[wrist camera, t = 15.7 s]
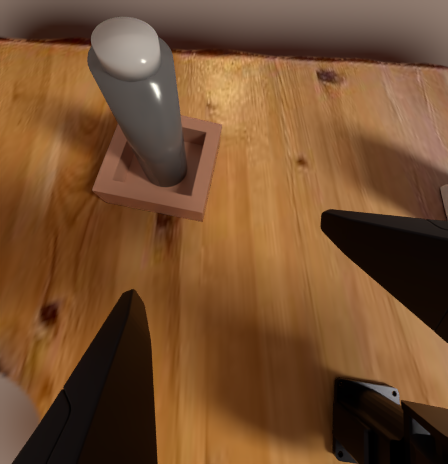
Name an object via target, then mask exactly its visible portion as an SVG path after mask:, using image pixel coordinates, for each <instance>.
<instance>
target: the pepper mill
mask: <svg viewBox="0 0 448 464" xmlns="http://www.w3.org/2000/svg"><path fill="white" fill-rule="evenodd" d="M91 43H92V46H91V48H90V50H89V52H88V66H89V69H90V71H91V73H92V75H93V77H94V79H95V80H96V82H97V84H98V86H99V88H100V90H101V92H102V94H103V96H104V98H105V99H106V101H107V103H108V105H109V107H110V109H111V111H112V113H113V115H114V117H115V119H116V120H117V122H118V124H119V126H120V128H121V130H122V132H123V134H124V136H125V138H126V139H127V141H128V143H129V145H130V147H131V149H132V151H133V153H134V155H135V157H136V158H137V160H138V162H139V164H140V166H141V168H142V170H143V172H144V174H145V176H146V177H147V179H148V180H149V181H150V182H151V183H152V184H154V185H156V186H159V187H172V186H175V185H177V184H179V183H180V182H181V181H182V180H183V179H184V178H185V176H186V174H187V169H188V167H187V159H186V152H185V144H184V137H183V129H182V122H181V114H180V106H179V99H178V91H177V84H176V76H175V69H174V61H173V55H172V52H171V50H170V48H169V47H168V45H167V44H166V43H165V42H164V41H163V40H162V39H160V38H159V37H158V36H157V34H156V32H155V30H154V29H153V28H152V27H151V26H150V25H148V24H147V23H145V22H144V21H141V20H139V19H136V18H130V17H116V18H111V19H108V20H106V21H104V22H102V23H101V24H99V25H98V26H97V27H96V28H95V30H94V31H93V33H92V37H91Z"/></svg>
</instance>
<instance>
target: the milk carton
mask: <svg viewBox="0 0 448 464" xmlns="http://www.w3.org/2000/svg"><path fill="white" fill-rule="evenodd" d="M440 190H441V194H442V198H443V203H444V207H445V211H446V215H447V220H448V184H446V185H444V186H441V187H440Z"/></svg>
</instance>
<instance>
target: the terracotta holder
mask: <svg viewBox="0 0 448 464" xmlns="http://www.w3.org/2000/svg"><path fill="white" fill-rule="evenodd" d="M181 122H182V129H183V137H184V144H185V152H186V159H187V167H188V169H187V174H186V176H185V178H184V179H183V180H182V181H181V182H180V183H179V184H177V185H175V186H172V187H159V186H156V185H154V184H152V183H151V182H150V181H149V180H148V179H147V177H146V176H145V174H144V172H143V170H142V168H141V166H140V164H139V162H138V160H137V158H136V157H135V155H134V153H133V151H132V149H131V147H130V145H129V143H128V141H127V139H126V138H125V136H124V134H123V132H122V130H121V128H120V126H119V124H118V125H117V127H116V130H115V132H114V135H113V137H112V140H111V143H110V145H109V148H108V150H107V153H106V155H105V158H104V160H103V163H102V166H101V168H100V171H99V173H98V176H97V178H96V181H95V183H94V186H93V189H92V191H93V192H94V193H96V194H97V195H98V196H99V197H100V198H101V199H103V200H104V201H105V202H107V203H112V204H117V205H122V206H127V207H131V208H136V209H141V210H146V211H151V212H156V213H161V214H166V215H171V216H176V217H181V218H186V219H191V220H196V221H201V222H203V218H204V213H205V208H206V204H207V199H208V195H209V190H210V186H211V181H212V176H213V172H214V167H215V163H216V158H217V154H218V149H219V144H220V138H221V130H222V124H217V123H213V122H208V121H204V120H200V119H195V118H191V117H186V116H182V115H181Z"/></svg>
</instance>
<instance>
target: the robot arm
mask: <svg viewBox="0 0 448 464" xmlns="http://www.w3.org/2000/svg"><path fill="white" fill-rule="evenodd" d="M321 230H322V231H323V232H324V233H325V235H326V236H327V237H328V238H329V239H330V240H331V241H332V242H333V243H334V244H335V245H336V246H337V247H338V248H339V249H340V250H341V251H342V252H343V253H344V254H345V255H346V256H347V257H348V258H350V259H351V260H352V261H353V262H354V263H355V264H356V265H358V266H359V267H360V268H361V269H362V270H363V271H365V272H366V273H367V274H368V275H369V276H370V277H372V278H373V279H374V280H375V281H376V282H377V283H379V284H380V285H381V286H382V287H383V288H384V289H386V290H387V291H388V292H389V293H390V294H391V295H392V296H394V297H395V298H396V299H397V300H398V301H399V302H401V303H402V304H403V305H404V306H405V307H406V308H408V309H409V310H410V311H411V312H412V313H413V314H415V315H416V316H417V317H418V318H419V319H420V320H422V321H423V322H424V323H425V324H426V325H427V326H428V327H430V328H431V329H432V330H433V331H434V332H435V333H436V334H438V335H439V336H440V337H441V338H442V339H443V340H444V341H446V342H447V343H448V221H440V220H431V219H421V218H411V217H401V216H392V215H382V214H372V213H363V212H353V211H343V210H334V209H329V210H327V211H324V212H323V213H322V214H321ZM340 382H342V385H341V386H340V385H339V384H340ZM63 388H64V389H62V390H61V391H60V393H59V394H58V396H57V397H56V399H55V401H54V402H53V404H52V405H51V407H50V408H49V410H48V411H47V413H46V414H45V416H44V417H43V419H42V420H41V422H40V424H39V425H38V427H37V428H36V430H35V431H34V432H33V434H32V435H31V437H30V438H29V440H28V441H27V442H26V444H25V445H24V447H23V448H22V450H21V451H20V452H19V454H18V455H17V457H16V458H15V460H14V461H13V463H12V464H158V462H157V443H156V424H155V405H154V386H153V367H152V348H151V339H150V333H149V327H148V321H147V316H146V310H145V305H144V303H143V301H142V299H141V298H140V296H139V295H138V293H137V292H136V290H134V289H131V290H129V291H126V292H124V293H123V294H122V295H121V297H120V299H119V300H118V302H117V303H116V305H115V306H114V308H113V310H112V311H111V313H110V314H109V316H108V317H107V319H106V321H105V322H104V324H103V325H102V327H101V328H100V330H99V332H98V333H97V335H96V336H95V338H94V339H93V341H92V343H91V344H90V346H89V347H88V349H87V350H86V352H85V354H84V355H83V357H82V358H81V360H80V361H79V363H78V365H77V366H76V368H75V369H74V371H73V372H72V374H71V376H70V377H69V379H68V380H67V382H66V383H65V385H64V387H63ZM392 391H393V394H392ZM332 433H333V454H334V456H335V457H336V458H337V459H338V460H339V461H343V462H350V463H357V464H448V409H445V408H440V407H435V406H430V405H425V404H420V403H414V402H409V401H404V400H401V406H400V403H399V392H398V390H397V389H396V388H394V387H392V386H388V385H382V384H376V383H370V382H364V381H358V380H352V379H346V378H340V377H338V378H336V379H335V385H334V403H333V430H332ZM339 451H340V454H338V452H339Z"/></svg>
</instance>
